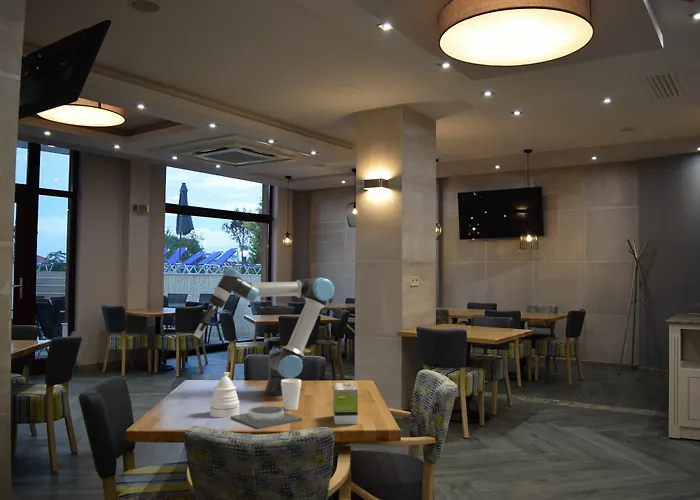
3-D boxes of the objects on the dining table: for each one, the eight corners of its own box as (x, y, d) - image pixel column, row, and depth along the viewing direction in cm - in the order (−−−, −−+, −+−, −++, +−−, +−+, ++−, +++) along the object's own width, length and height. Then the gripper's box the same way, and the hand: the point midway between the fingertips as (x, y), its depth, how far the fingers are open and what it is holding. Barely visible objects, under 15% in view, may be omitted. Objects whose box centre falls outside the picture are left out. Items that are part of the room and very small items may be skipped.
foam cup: (297, 411, 260) (297, 382, 261) (278, 410, 262) (278, 381, 263) (303, 406, 270) (303, 379, 270) (284, 405, 271) (284, 378, 272)
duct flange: (273, 410, 261) (273, 402, 261) (301, 420, 244) (302, 410, 244) (230, 418, 246) (230, 409, 246) (257, 428, 230) (258, 418, 230)
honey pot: (214, 410, 261) (215, 370, 262) (242, 410, 261) (242, 371, 261) (206, 417, 248) (207, 375, 249) (235, 417, 248) (236, 376, 249)
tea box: (332, 415, 253) (332, 382, 254) (355, 415, 254) (355, 382, 254) (334, 424, 238) (334, 389, 239) (358, 424, 239) (358, 388, 239)
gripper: (210, 294, 288) (188, 332, 283) (214, 292, 264) (190, 333, 259) (223, 302, 290) (202, 339, 285) (228, 300, 266) (204, 341, 261)
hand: (196, 336), depth 272 cm, fingers open, 13 cm apart
